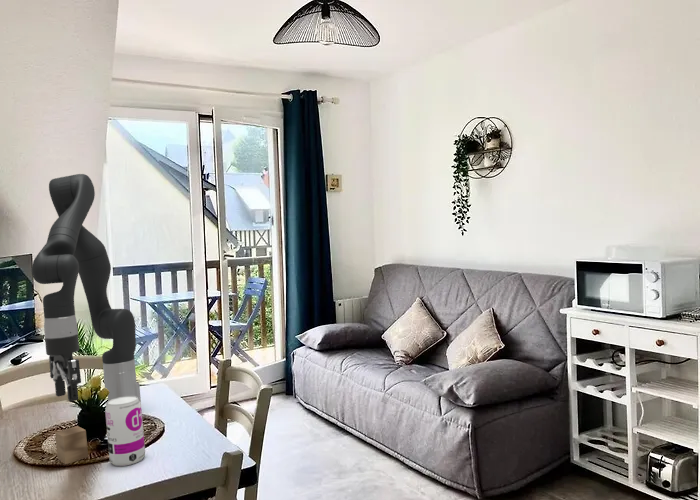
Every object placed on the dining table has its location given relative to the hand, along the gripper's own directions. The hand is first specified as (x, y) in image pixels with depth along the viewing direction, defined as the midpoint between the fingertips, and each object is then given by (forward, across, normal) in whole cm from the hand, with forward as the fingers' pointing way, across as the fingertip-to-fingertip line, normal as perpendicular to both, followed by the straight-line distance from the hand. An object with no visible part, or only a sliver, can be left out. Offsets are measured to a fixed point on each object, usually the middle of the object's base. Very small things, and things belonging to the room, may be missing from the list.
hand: (67, 398), depth 151 cm
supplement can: (+16, -14, -8) cm, 23 cm away
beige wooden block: (+15, 0, 0) cm, 16 cm away
